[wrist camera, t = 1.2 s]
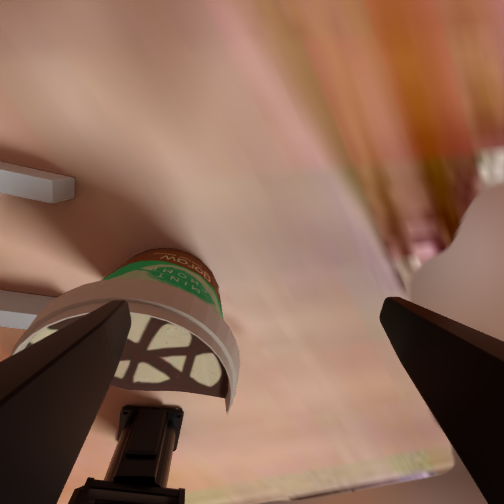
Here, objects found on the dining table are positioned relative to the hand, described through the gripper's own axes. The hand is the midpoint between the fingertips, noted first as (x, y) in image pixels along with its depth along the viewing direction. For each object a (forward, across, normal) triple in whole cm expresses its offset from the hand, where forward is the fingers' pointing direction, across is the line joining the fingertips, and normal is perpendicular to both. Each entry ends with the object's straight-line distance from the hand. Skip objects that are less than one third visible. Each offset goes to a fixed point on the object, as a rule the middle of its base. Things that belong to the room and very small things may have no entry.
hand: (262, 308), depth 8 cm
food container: (+12, +6, +5) cm, 15 cm away
